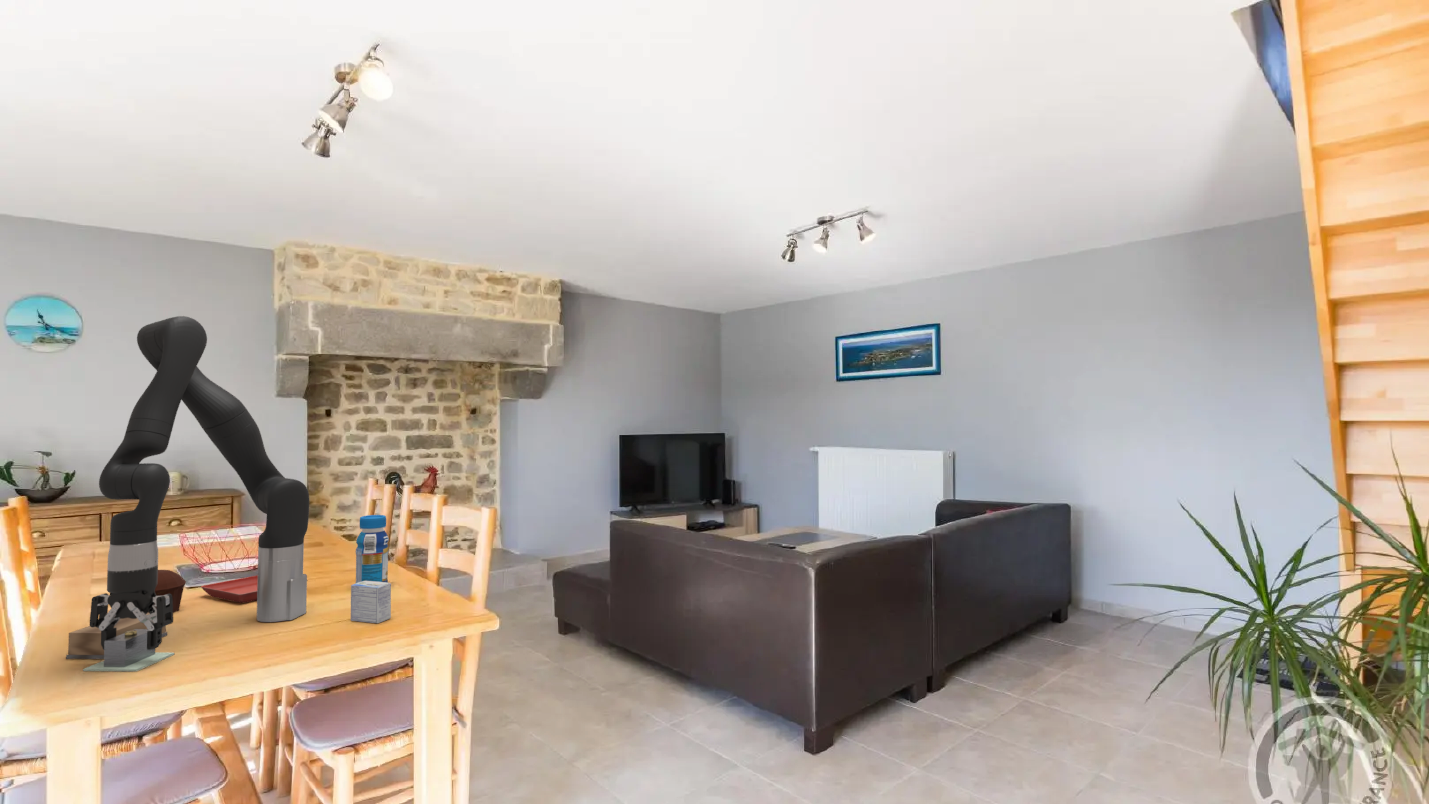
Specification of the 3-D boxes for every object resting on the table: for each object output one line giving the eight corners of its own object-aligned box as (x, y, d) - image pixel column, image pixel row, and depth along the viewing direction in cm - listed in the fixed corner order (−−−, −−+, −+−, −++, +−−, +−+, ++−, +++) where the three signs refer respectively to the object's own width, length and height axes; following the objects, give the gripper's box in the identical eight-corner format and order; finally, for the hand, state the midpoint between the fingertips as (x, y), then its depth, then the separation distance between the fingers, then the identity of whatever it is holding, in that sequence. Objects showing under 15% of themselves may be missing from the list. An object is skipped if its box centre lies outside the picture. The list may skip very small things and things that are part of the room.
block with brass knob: (155, 654, 135) (155, 626, 135) (124, 667, 128) (125, 637, 128) (135, 654, 135) (135, 625, 135) (103, 667, 128) (104, 637, 128)
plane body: (167, 635, 148) (167, 612, 148) (108, 658, 133) (109, 633, 133) (128, 634, 148) (129, 611, 148) (66, 658, 133) (66, 633, 133)
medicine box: (391, 618, 161) (392, 582, 161) (377, 624, 157) (378, 586, 157) (364, 615, 163) (365, 580, 164) (349, 621, 159) (350, 584, 159)
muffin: (194, 610, 166) (195, 570, 166) (138, 622, 157) (139, 579, 157) (172, 603, 172) (173, 564, 172) (117, 614, 163) (118, 572, 163)
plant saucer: (269, 583, 194) (269, 571, 195) (308, 591, 187) (309, 579, 187) (198, 598, 178) (199, 585, 178) (239, 607, 170) (239, 594, 170)
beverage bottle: (347, 589, 187) (349, 517, 188) (373, 582, 195) (375, 513, 196) (369, 592, 184) (370, 519, 184) (395, 585, 192) (396, 515, 192)
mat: (174, 654, 136) (174, 652, 136) (136, 671, 127) (136, 669, 127) (124, 654, 136) (124, 652, 136) (83, 671, 127) (83, 668, 127)
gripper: (184, 561, 136) (182, 642, 135) (113, 560, 136) (111, 641, 135) (154, 569, 128) (151, 655, 128) (78, 569, 128) (76, 655, 128)
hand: (131, 648), depth 132 cm, fingers open, 8 cm apart
